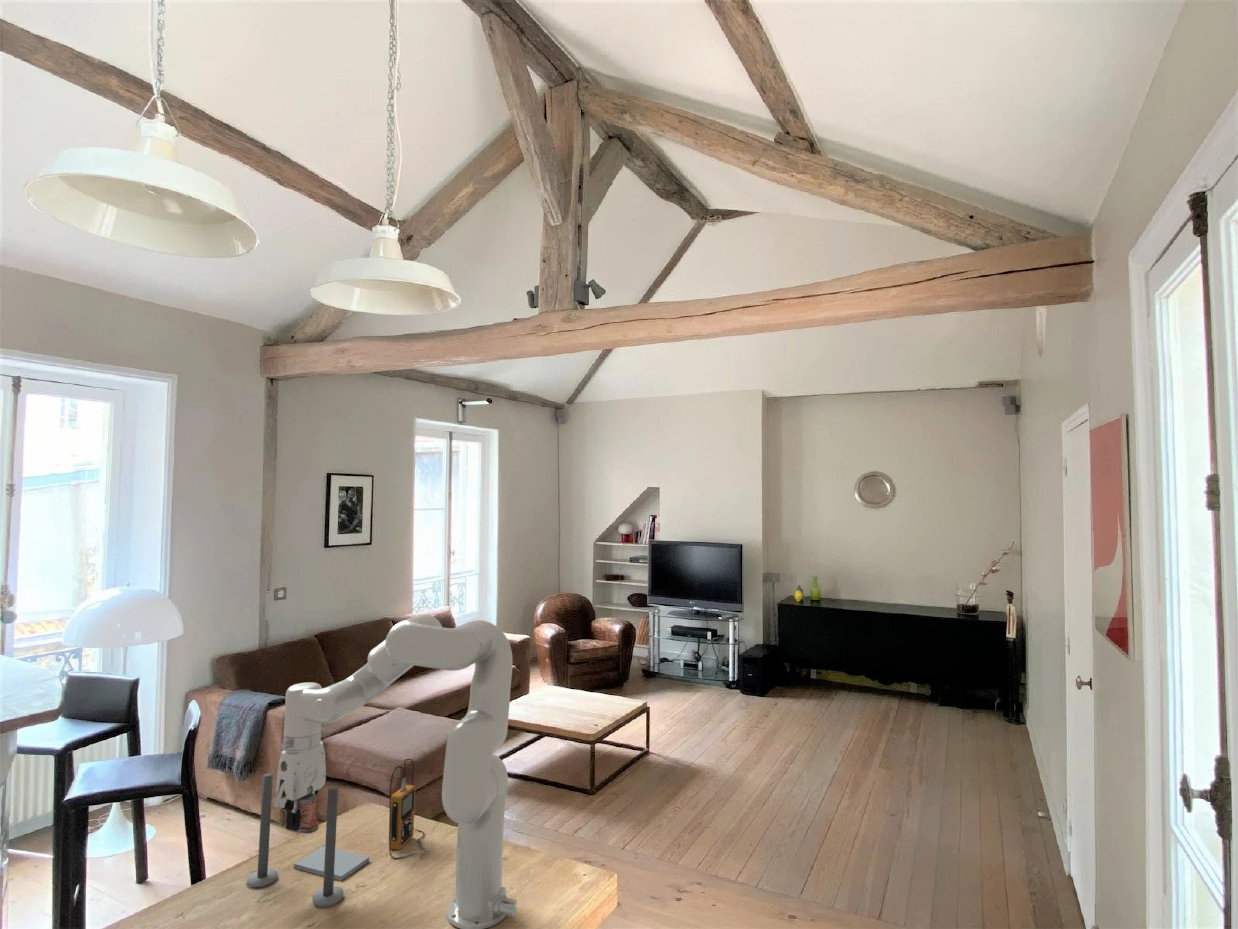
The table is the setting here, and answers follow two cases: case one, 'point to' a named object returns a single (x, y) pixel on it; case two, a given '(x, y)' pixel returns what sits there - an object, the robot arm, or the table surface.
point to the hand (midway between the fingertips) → (298, 825)
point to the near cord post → (329, 857)
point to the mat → (342, 867)
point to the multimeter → (402, 815)
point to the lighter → (307, 813)
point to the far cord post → (264, 839)
